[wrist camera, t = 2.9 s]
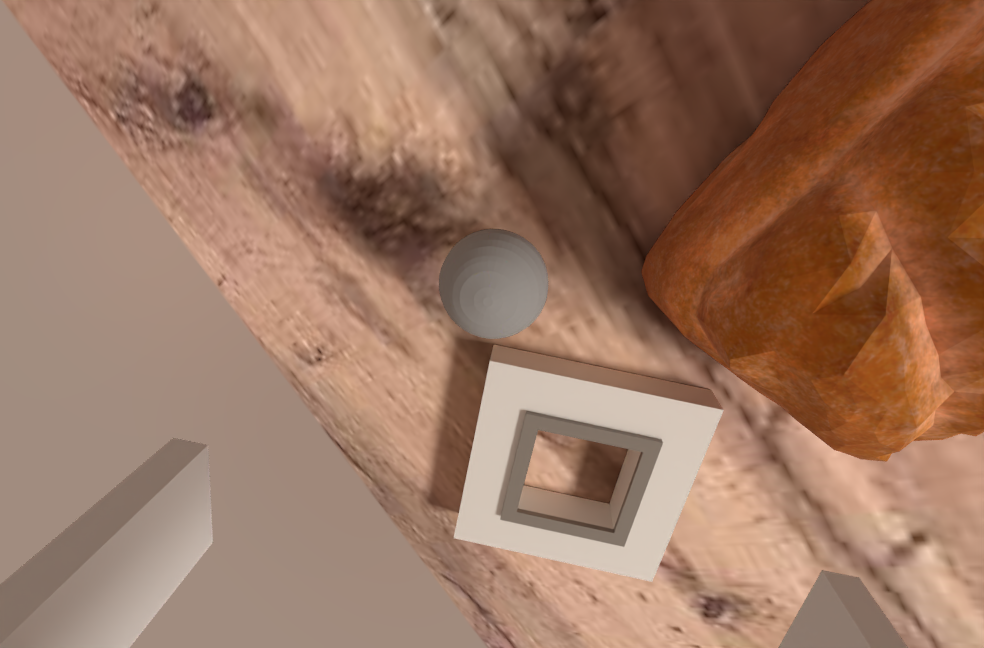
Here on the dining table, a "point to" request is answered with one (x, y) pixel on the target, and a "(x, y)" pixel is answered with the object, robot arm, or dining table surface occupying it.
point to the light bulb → (493, 283)
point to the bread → (851, 236)
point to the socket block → (594, 417)
